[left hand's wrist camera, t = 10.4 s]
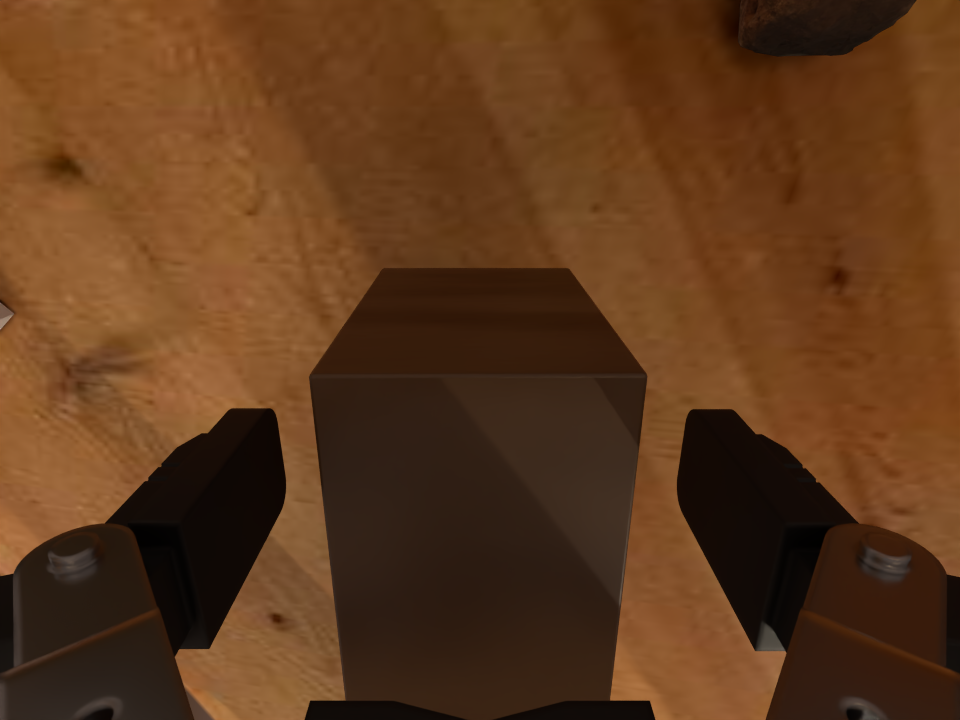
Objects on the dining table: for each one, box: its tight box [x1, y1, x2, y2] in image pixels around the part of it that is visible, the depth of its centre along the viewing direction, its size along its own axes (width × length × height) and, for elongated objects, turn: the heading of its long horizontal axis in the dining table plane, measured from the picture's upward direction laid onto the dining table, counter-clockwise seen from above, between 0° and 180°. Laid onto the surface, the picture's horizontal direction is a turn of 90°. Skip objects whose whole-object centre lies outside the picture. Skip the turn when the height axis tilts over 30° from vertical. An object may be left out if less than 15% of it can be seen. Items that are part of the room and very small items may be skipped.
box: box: [309, 268, 647, 720], centre depth 18 cm, size 21×6×9 cm, turn 0°
